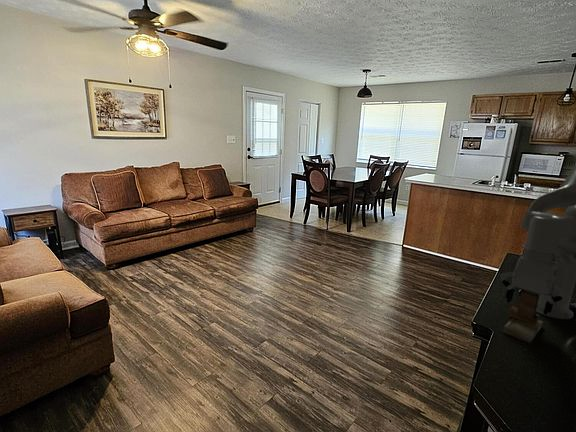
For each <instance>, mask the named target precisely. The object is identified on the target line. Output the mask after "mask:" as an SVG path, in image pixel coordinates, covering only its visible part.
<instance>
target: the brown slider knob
mask: <svg viewBox="0 0 576 432" xmlns="http://www.w3.org/2000/svg"><path fill="white" fill-rule="evenodd" d="M519 296H520V297H519V302H518V305H517V307H516V306H514V305H512V306H511V307H510V308H509V309H508V312H507V316H506V322H509V321H510V320H511V319H512V317H513V318H516V319H519V320H522V321H525V322H527V323H530V324H533V325H535V324H536V323H537V322H538V320H540V315H539V314H537V312H536V309H537V305H538V300H539V296H540V294H538V293H534V292H531V291H528V290H524V289H522V291H521V293H520V295H519Z"/></svg>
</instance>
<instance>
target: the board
mask: <svg viewBox="0 0 576 432" xmlns="http://www.w3.org/2000/svg"><path fill="white" fill-rule="evenodd" d="M543 323H544V321H543V320H541V319H538V322H537V323H536V324H535V325H533V324H530V323H527V322H525V321H522V320H519V319H516V318H513V317H512V319H511V320H510V321H507V323H505V325H504V326H503V330H502V333H504V334H506V335H509V336H511V337H514V338H515V339H519V340H521V341H524V342H526V343H529V344H531V343H532V341H533V340H534V339H535V337H536V336H537V335H538V334H539V331H540V330H541V329H542V328H543Z"/></svg>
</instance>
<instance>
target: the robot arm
mask: <svg viewBox="0 0 576 432" xmlns="http://www.w3.org/2000/svg"><path fill="white" fill-rule="evenodd" d="M558 208H566V209H565V211H564V213H563V214H558V213H552V212H547V211H550V210H553V209H558ZM520 225H521V227H522V229H523V231H525V232H527V235H526V238H525V243H524V248H523V254H522V255H520V256H519V258H518V260H517V262H516V264H515V268H514V270H513V271H510V272H503V273H500V275H499V277H500V279H501V282H502V284H503V285H504V287H505V289H506V295H505V299H506V303H511V302H512V301H513V298H514V294H515V288H519V289H521V290H528V291H531V292H534V293H538V294H540V296H539V300H538V305H537V309H536V313H538V314H540V315H543V316H546V317H549V318H553V319H558V320H570V319H573V317H574V315H575V314H574V312H573V311H572V310H571V309H570V304H571V301H572V295H573V291H574V289H575V284H576V257H575V256H576V163H575V164H574V165H573V166H572V169H571V170H570V172H569V173H568V174H567V176H566V177H565V180H564V181H563V183H562V184H561V186H560V187H558V188H555V189H553V190H551V191H550V190H549V191H548V192H546V193H544V194H542V195H539V197H537V198H535V199H533V201H532V202H531V204H530V205H529V207H528V208H527V209H526V211H525V213H524V215H523V217H522V220H521V223H520ZM510 277H512V278H511V283H510V281H509V280H508V279H507V278H510Z"/></svg>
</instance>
